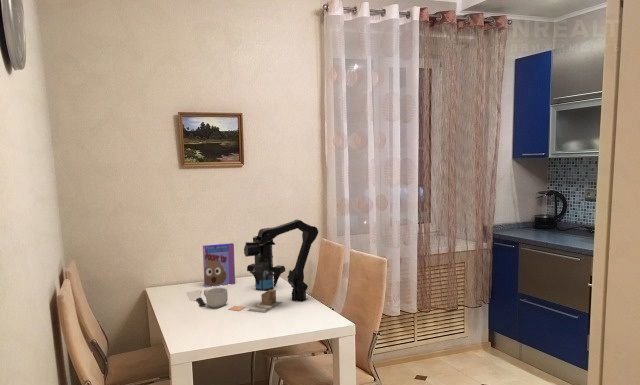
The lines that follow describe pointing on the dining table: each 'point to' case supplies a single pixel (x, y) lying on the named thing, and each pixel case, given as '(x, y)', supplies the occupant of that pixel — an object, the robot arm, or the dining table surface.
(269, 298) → the turner
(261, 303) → the mat
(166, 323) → the dining table surface
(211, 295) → the teacup
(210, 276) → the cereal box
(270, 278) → the advertising column
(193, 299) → the kitchen cleaver
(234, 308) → the tile
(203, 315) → the dining table surface
